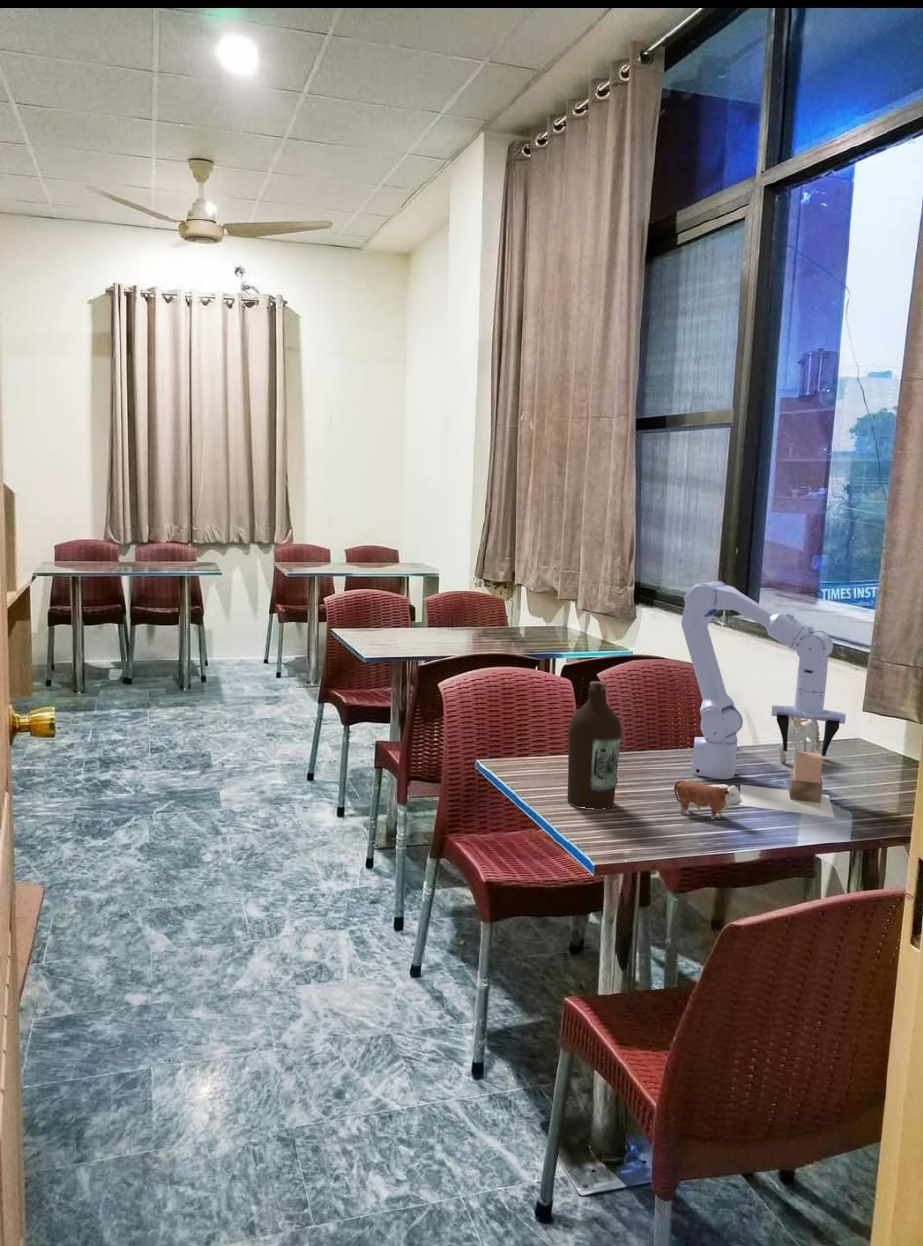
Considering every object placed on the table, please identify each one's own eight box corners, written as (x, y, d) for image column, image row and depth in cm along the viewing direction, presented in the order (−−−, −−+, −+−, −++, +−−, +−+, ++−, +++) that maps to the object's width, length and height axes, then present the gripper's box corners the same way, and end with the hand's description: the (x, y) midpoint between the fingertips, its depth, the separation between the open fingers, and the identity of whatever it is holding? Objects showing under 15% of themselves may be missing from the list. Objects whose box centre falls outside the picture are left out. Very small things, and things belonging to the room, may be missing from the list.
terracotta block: (794, 780, 198) (796, 757, 198) (793, 773, 203) (795, 750, 202) (820, 783, 197) (822, 760, 196) (818, 776, 202) (820, 753, 201)
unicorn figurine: (771, 770, 222) (776, 714, 220) (790, 751, 239) (795, 699, 237) (803, 776, 218) (808, 719, 216) (820, 756, 235) (825, 703, 233)
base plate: (739, 809, 194) (739, 804, 194) (740, 788, 208) (740, 784, 207) (833, 822, 189) (834, 817, 189) (828, 800, 202) (828, 795, 202)
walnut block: (790, 799, 199) (791, 780, 198) (789, 790, 205) (790, 772, 204) (820, 803, 197) (822, 784, 197) (818, 794, 203) (820, 776, 202)
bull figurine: (737, 831, 182) (741, 790, 181) (669, 816, 189) (672, 776, 188) (744, 825, 186) (747, 784, 185) (677, 810, 193) (680, 771, 192)
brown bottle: (553, 798, 197) (560, 679, 193) (594, 791, 202) (601, 675, 198) (586, 815, 188) (594, 690, 184) (627, 807, 193) (636, 686, 189)
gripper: (774, 689, 198) (768, 753, 201) (849, 697, 194) (842, 762, 196) (774, 682, 205) (768, 744, 207) (846, 690, 201) (839, 752, 203)
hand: (804, 752), depth 202 cm, fingers open, 7 cm apart
